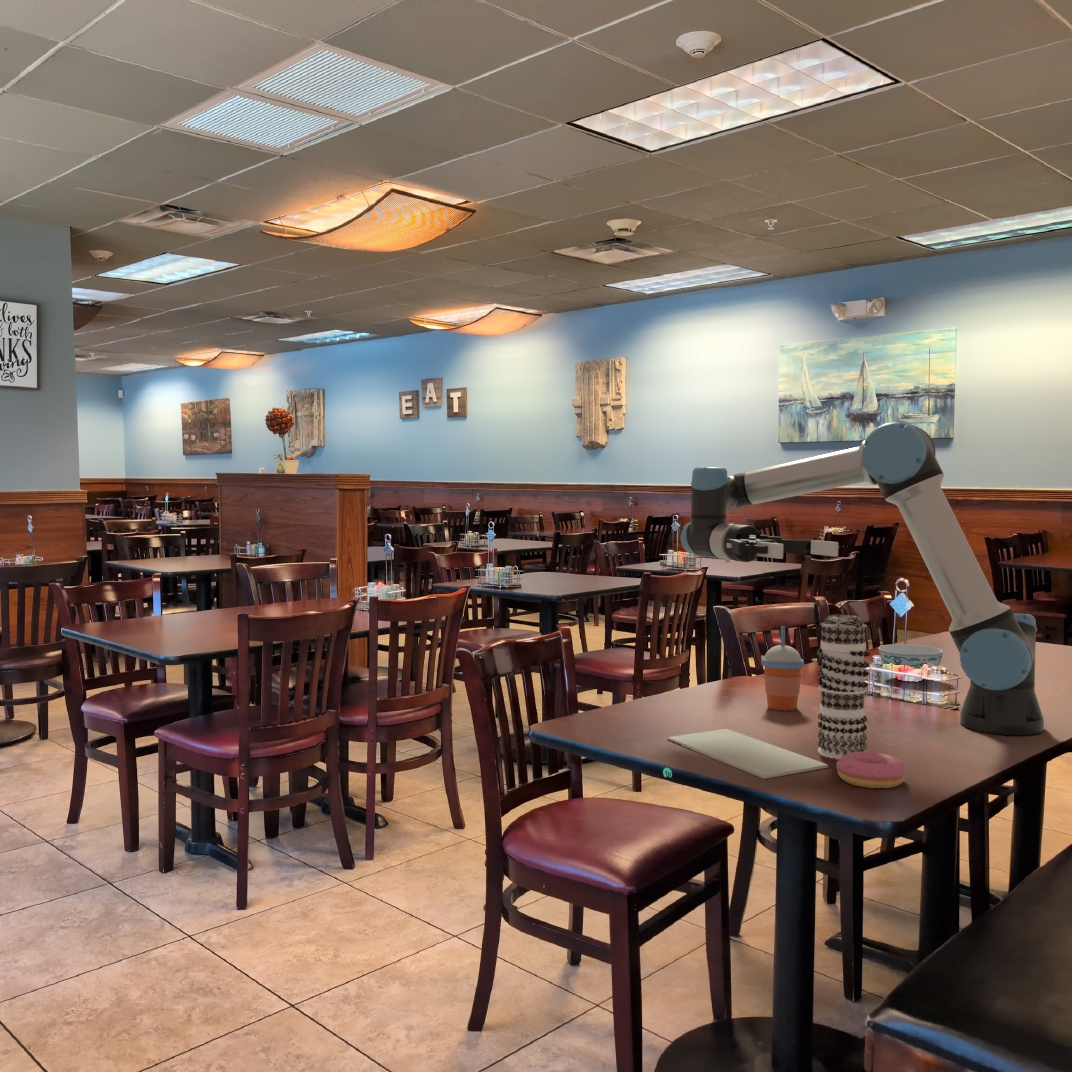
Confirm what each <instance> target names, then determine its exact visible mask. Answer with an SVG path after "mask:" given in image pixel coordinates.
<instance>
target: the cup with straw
mask: <svg viewBox="0 0 1072 1072" xmlns="http://www.w3.org/2000/svg"><path fill="white" fill-rule="evenodd" d="M804 660H805V659H802V658H801V654H800V653H799V652H798V651H797V650H796V649H795V648H794V647H792V646H789V645H786V626H785V625H781V626H780V644H778V645H775V646H772V647H771V648H770V649H768V651H767V652H766V653H765V655H764V657H762V658H761V660H760V661H761V662H760V663H761V666H763V667H764V672H763V677H764V678H763V679H764V688H765V689H764V690H765V694H766V701H767V708H768V709H770V710H773V709H774V710H773V711H779V710H784V711H783V712H786V711H787V712H789V711H788V710H791V711H795V710H797V707H798V701H799V700H798V699H799V695H800V691H801V689H800V688H801V679H802V674H801V671H802V668H803V667H804V666H805V661H804Z"/></svg>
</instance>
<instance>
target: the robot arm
mask: <svg viewBox="0 0 1072 1072" xmlns="http://www.w3.org/2000/svg"><path fill="white" fill-rule="evenodd" d="M944 477H945V474H944V471H943V469H942V468H941V466H940V463H939V462H938V460H937V457H936V445H935V443H934V440H933V439H932V437H931V436H930V435H929V433H928V432H926V431H925V430H924V429H923V428H920V427H919V426H916V425H913V424H911V423H909V422H905V421H899V420H898V421H891V422H886V423H884V424H881V425H879V426H877V427H876V428H875V429H873V430H872V431H871V432H870V433H869V434H868V436H867V437H866V438H865V440H863V441H862V442H861V444H860V445H859V446H857V447H852V448H848V449H842V450H838V451H834V452H830V453H825V454H821V455H816V456H813V457H812V456H811V457H807V458H804V459H798V460H794V461H790V462H785V463H781V464H777V465H772V466H767V467H763V468H758V469H754V470H751V471H745V472H740V473H736V474H731V475H728V471H727V468H725V467H722V466H720V467H719V466H717V467H716V466H697V467H694V468H693V469H692V475H691V483H690V486H691V494H690V495H691V503H690V505H691V506H690V507H691V508H690V510H691V511H690V513H691V514H690V521H689V522H688V523H686V524H685V526H683V527H682V528H683V529H682V531H681V533H680V544H681V546H682V548H683V549H684V551H685V552H687V553H688V554H691V555H694V556H697V557H700V558H709V559H710V558H711V559H722V560H724V561H725V563H726V564H727V563H730V562H731V561H735V562H741V563H743V562H744V563H750V562H753V561H755V560H756V559H757V558H758V557H761V558H762V557H763V558H771V559H781V560H783V559H784V553H804V554H805V553H807V554H808V553H809V554H810V555H818V556H827V557H835V558H836V557H839V542H838V541H830V540H829V541H828V540H827V541H826V540H821V539H819V538H818V537H817V536H813V539H803V538H787V537H786V538H785V537H781V536H772V535H771V536H770V535H767V534H761V533H760V531H759V530H758V529H757V528H756V527H755V526H752V525H746V524H737V523H727V511H733V510H738V509H739V510H740V509H741V508H744V507H750V506H753V505H757V504H762V503H767V502H773V501H778V500H781V499H787V498H792V497H797V496H801V495H806V494H807V495H808V494H812V493H815V492H821V491H822V492H823V491H827V490H831V489H836V488H842V487H847V486H851V485H856V484H862V483H865V482H867V483H869V484H871V485H872V486H876V485H878V489H879V490H880V492H881V494H882V497H883V498H884V500H885V501H886V502H887V503H890V504H893V505H895V506H897V508H898V510H899V513H900V514H901V516H902V518H903V520H904V523H905V524H906V525H905V526H907V528H908V531H909V532H910V535H911V537H912V539H913V541H914V543H915V545H916V546H917V550H918V551H919V553H920V555H921V557H922V560H923V562H924V563H925V566H926V567H927V570H928V572H929V574H930V576H931V578H932V580H933V582H934V585H935V586H936V589H937V590H938V592H939V595H940V597H941V598H942V600H943V603H944V605H945V607H946V609H947V610H948V613H949V615H950V617H951V623H950V625H949V628H948V632H949V634H950V636H951V638H952V640H953V642H954V645H955V647H956V649H957V651H958V653H959V662H960V667H961V669H962V671H963V672H964V675H966V677H967V678H968V679H969V680H970V681H969V688H968V691H967V693H966V696H965V699H964V702H963V703H962V704H963V705H962V707H961V709H960V714H959V715H960V718H959V720H960V721H959V722H960V725H962V726H963V727H965V728H968V729H971V730H974V731H978V732H983V733H988V734H995V735H996V734H997V735H1005V736H1030V735H1031V736H1032V735H1037V734H1041V733H1042V732H1044V730H1045V726H1044V725H1045V721H1044V720H1045V719H1044V718H1045V717H1044V716H1043V712H1042V709H1041V706H1040V703H1039V701H1038V696H1037V694H1036V691H1035V690H1036V689H1035V685H1036V684H1035V683H1036V682H1035V681H1036V679H1035V677H1036V676H1035V675H1036V638H1037V636H1036V633H1037V632H1038V626H1037V624H1036V623H1037V621H1036V618H1035V616H1033V615H1032V614H1030V613H1018V612H1017V613H1016V612H1015V613H1014V612H1013V610H1012V608H1011V606H1010V605H1007V604H1005V603H1002V602H1000V601H999V600H998V599H997V598H996V595H995V593H994V591H993V589H992V587H991V586H990V583H989V581H988V580H987V577H986V575H985V574H984V572H983V569H982V567H981V565H980V563H979V561H978V559H977V557H976V556H975V553H974V551H973V549H972V547H971V545H970V544H969V542H968V540H967V537H966V535H965V533H964V531H963V530H962V528H961V527H962V526H961V525H960V524H959V523H960V522H959V521H958V519H957V517H956V515H955V513H954V511H953V509H952V507H951V505H950V502H949V501H948V498H947V497H946V494H945V493H944V491H943V489H942V487H941V485H942V482H943V479H944Z"/></svg>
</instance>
